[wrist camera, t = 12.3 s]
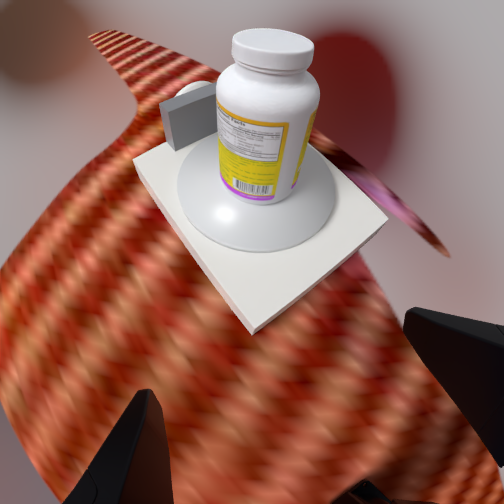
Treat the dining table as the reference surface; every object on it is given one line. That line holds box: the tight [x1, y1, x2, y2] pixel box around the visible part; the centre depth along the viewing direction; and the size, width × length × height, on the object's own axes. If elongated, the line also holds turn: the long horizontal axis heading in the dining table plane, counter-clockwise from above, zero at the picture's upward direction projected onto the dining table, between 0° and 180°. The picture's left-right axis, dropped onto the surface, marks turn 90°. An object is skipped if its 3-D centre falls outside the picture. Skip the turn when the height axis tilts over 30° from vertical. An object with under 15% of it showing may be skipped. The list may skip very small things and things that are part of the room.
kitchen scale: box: [133, 81, 388, 335], centre depth 23 cm, size 21×16×8 cm
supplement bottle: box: [216, 28, 320, 205], centre depth 18 cm, size 7×7×13 cm
